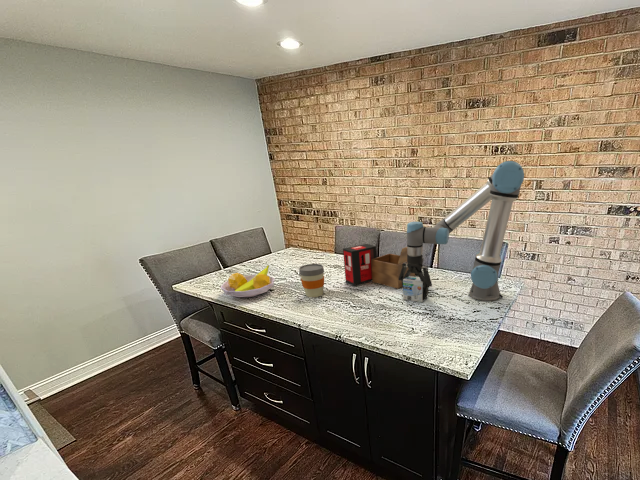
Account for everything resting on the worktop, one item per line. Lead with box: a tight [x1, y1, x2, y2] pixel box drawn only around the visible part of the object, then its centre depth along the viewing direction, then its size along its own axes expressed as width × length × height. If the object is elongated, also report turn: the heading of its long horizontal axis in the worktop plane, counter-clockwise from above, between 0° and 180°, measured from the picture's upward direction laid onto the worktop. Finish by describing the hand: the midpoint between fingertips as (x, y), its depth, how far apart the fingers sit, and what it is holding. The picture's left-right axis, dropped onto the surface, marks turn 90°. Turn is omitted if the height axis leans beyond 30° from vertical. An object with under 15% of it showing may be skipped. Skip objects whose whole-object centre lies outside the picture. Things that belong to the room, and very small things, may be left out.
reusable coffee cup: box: [298, 263, 325, 298], centre depth 176 cm, size 13×13×15 cm
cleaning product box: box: [342, 243, 377, 287], centre depth 194 cm, size 16×9×20 cm, turn 131°
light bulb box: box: [402, 276, 425, 303], centre depth 169 cm, size 11×7×11 cm, turn 68°
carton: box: [371, 253, 416, 290], centre depth 193 cm, size 19×16×14 cm
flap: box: [398, 246, 408, 264], centre depth 182 cm, size 9×16×1 cm
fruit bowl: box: [220, 264, 276, 298], centre depth 181 cm, size 28×27×11 cm
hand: (414, 296), depth 171 cm, fingers closed on light bulb box, 11 cm apart
